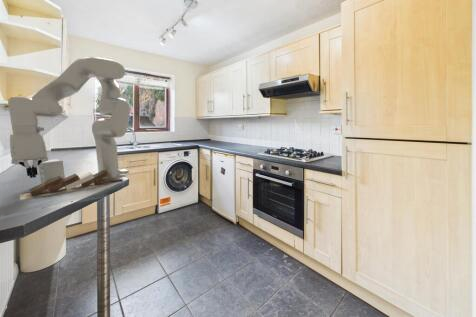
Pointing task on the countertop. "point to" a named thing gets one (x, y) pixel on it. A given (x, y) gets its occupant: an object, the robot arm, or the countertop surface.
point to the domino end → (46, 185)
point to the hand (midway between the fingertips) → (32, 177)
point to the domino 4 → (107, 181)
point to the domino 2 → (80, 180)
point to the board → (47, 192)
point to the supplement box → (51, 170)
